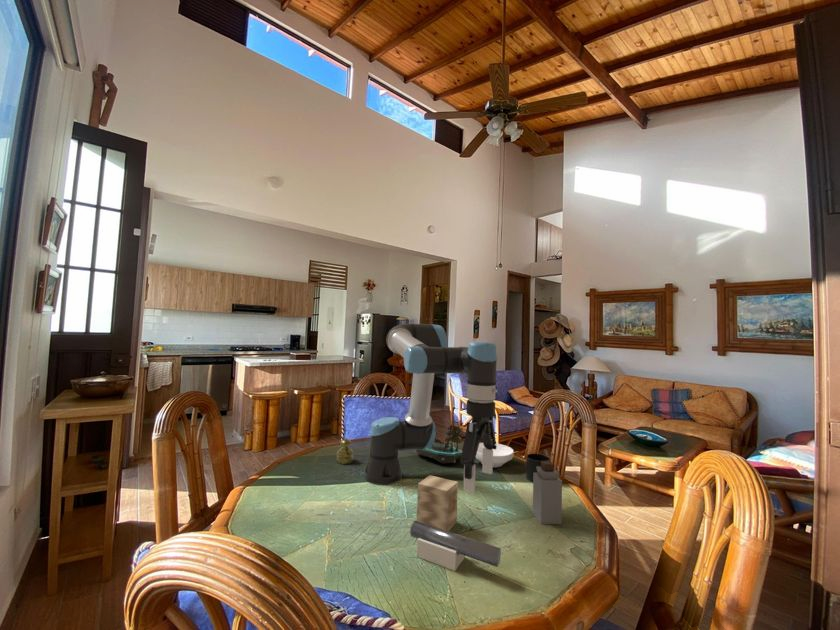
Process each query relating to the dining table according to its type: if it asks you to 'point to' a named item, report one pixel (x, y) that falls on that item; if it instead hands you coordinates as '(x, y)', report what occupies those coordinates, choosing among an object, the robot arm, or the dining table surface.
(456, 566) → the cradle
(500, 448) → the bowl
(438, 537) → the axle
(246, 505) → the dining table surface
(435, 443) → the diorama
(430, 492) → the brown wooden block
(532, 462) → the mug
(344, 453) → the olive ridged vase
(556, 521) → the perfume bottle
